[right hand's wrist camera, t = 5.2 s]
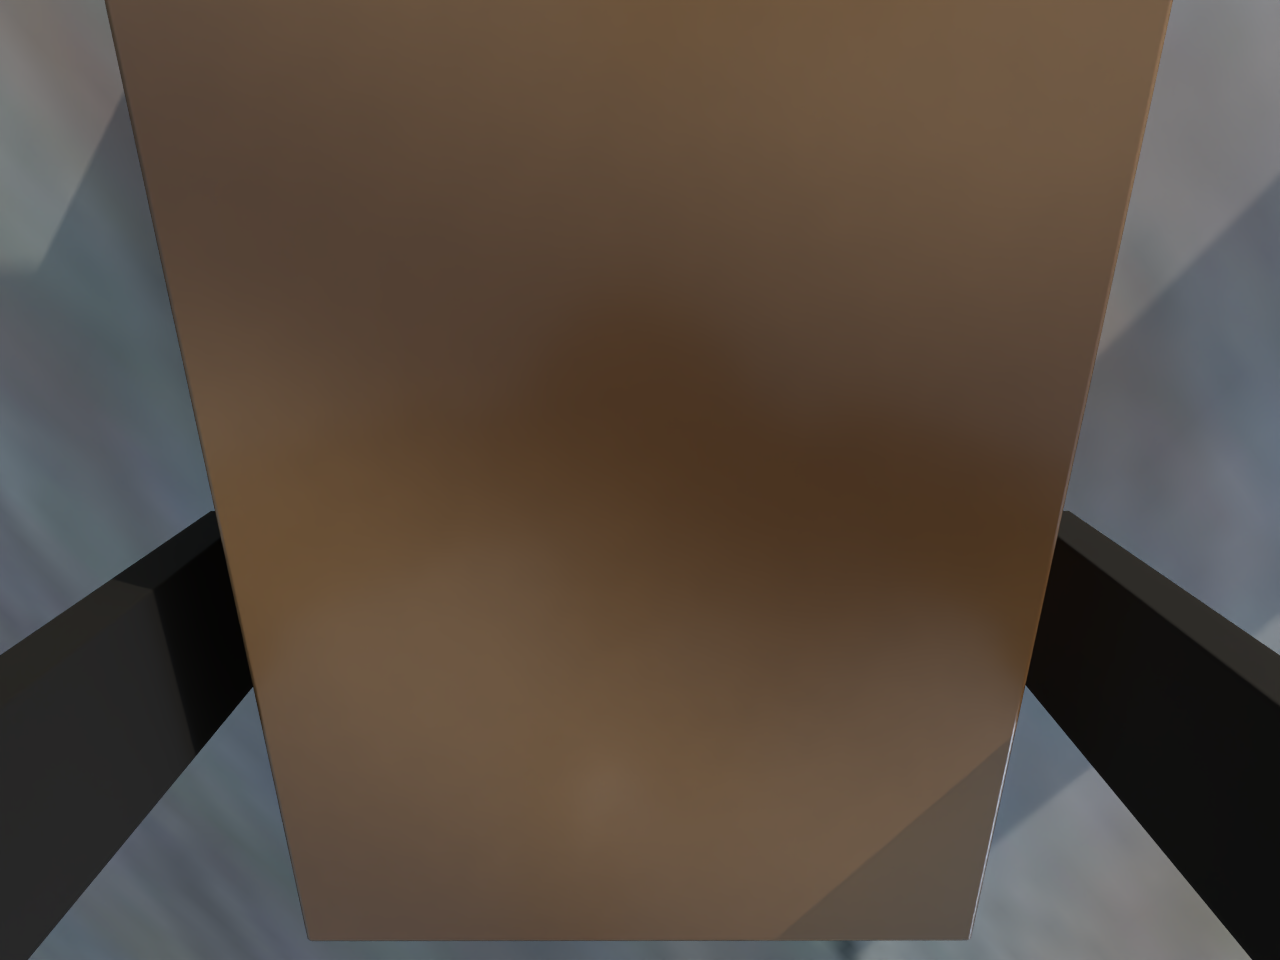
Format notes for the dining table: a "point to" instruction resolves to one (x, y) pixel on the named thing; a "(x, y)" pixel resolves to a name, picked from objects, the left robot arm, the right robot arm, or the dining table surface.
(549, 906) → the cabinet
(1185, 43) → the dining table surface
